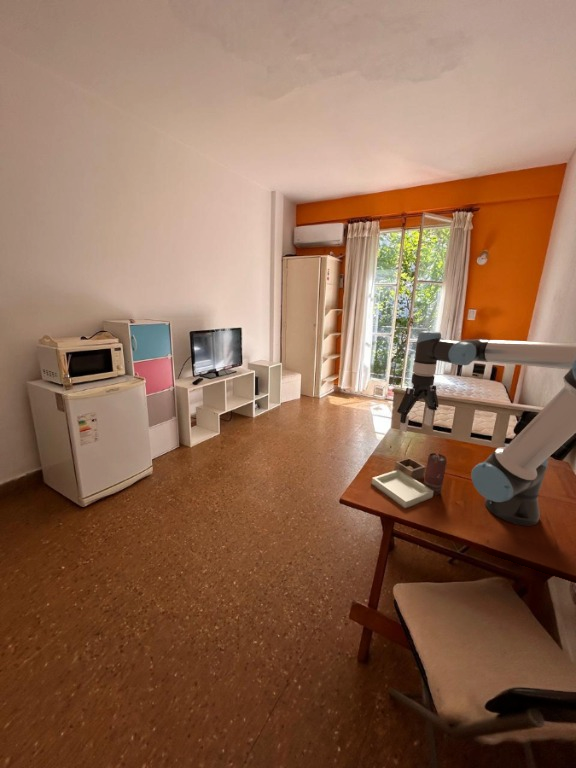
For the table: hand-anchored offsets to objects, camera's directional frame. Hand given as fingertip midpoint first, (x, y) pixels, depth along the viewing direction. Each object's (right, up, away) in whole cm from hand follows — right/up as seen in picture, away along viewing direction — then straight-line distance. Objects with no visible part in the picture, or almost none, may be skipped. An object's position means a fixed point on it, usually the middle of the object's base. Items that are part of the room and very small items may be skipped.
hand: (415, 427), depth 122 cm
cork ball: (-1, -19, +5) cm, 20 cm away
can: (+4, -23, -4) cm, 24 cm away
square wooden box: (-1, -20, +5) cm, 20 cm away
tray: (-7, -22, -5) cm, 24 cm away
